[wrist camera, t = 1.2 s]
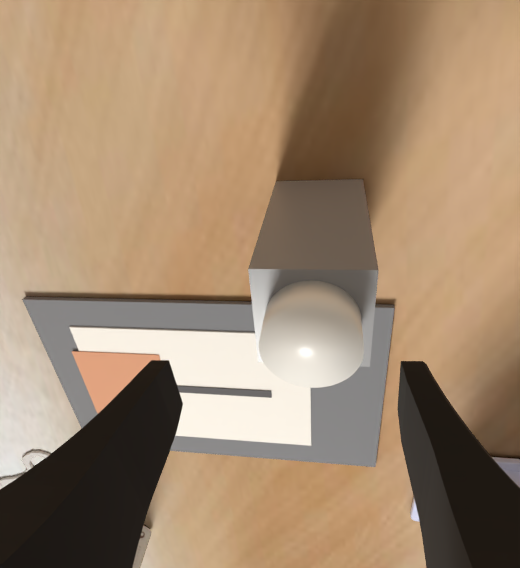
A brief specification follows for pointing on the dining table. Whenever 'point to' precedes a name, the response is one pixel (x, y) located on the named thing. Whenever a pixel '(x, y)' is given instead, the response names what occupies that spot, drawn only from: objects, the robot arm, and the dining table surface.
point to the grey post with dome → (314, 282)
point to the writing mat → (213, 377)
